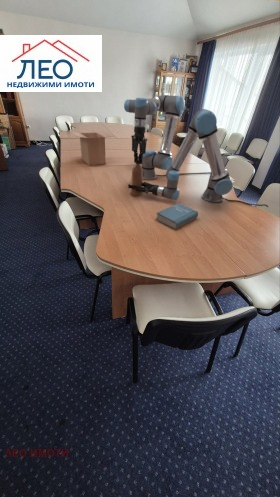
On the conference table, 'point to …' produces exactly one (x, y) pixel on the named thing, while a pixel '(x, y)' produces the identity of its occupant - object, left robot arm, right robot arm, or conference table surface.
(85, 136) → the box
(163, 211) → the book
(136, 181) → the bottle
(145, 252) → the conference table surface
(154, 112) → the left robot arm
